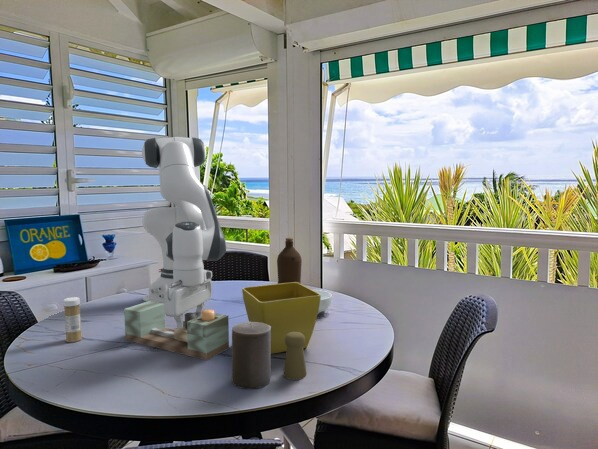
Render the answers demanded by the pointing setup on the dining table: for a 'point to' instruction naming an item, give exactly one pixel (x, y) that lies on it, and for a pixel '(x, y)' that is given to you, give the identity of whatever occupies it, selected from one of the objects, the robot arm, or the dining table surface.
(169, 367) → the dining table surface
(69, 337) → the sprinkles bottle
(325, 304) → the cereal bowl
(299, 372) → the game pawn
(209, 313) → the plunger
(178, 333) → the carriage
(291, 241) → the olive oil
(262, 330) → the pillar candle
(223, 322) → the rail bed
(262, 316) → the flower pot
